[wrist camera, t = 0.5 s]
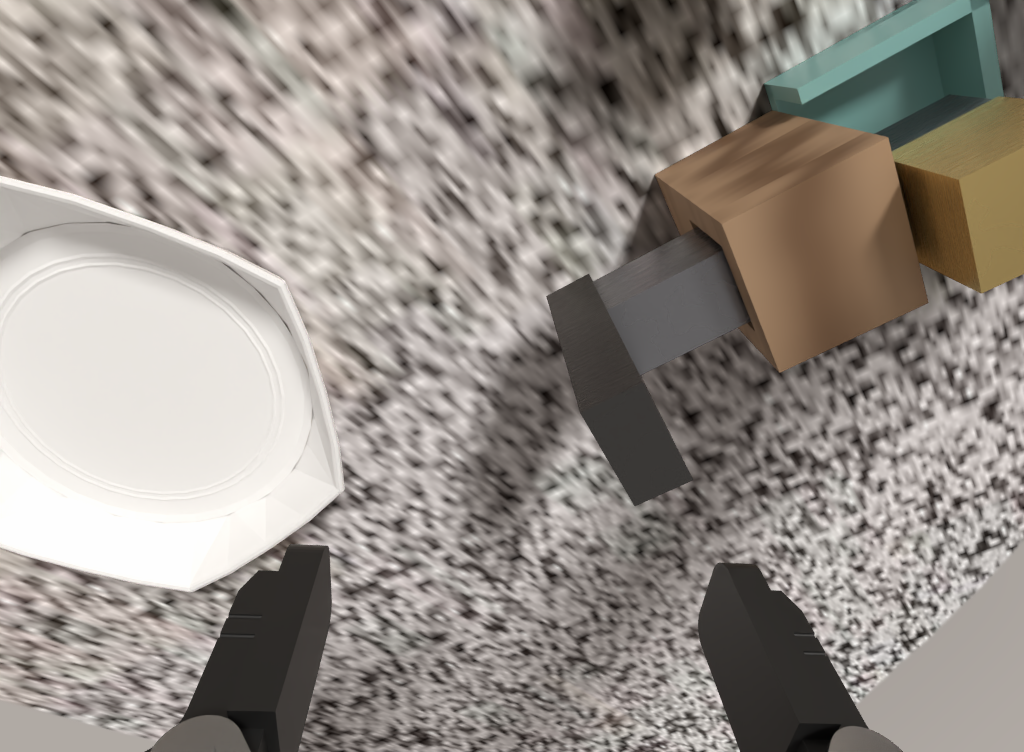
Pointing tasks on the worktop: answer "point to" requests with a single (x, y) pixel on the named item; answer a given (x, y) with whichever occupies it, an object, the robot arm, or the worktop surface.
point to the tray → (895, 67)
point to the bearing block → (803, 230)
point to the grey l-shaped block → (664, 331)
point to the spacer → (968, 194)
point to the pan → (150, 398)
